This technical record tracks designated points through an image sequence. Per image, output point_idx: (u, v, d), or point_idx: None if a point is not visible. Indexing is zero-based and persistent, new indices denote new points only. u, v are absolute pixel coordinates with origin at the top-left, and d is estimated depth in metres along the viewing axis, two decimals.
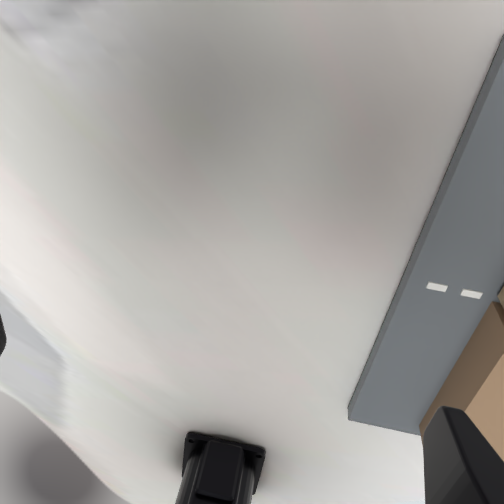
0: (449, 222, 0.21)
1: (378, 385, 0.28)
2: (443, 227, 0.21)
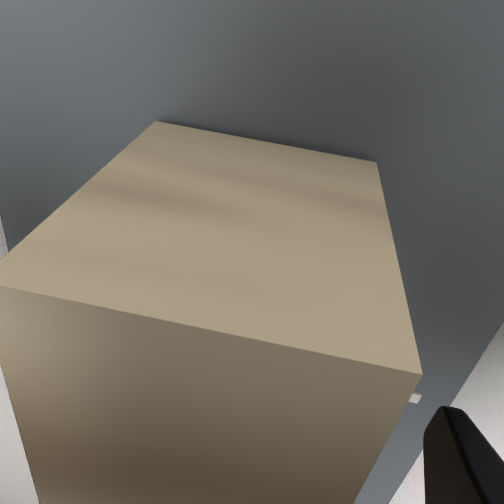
0: (24, 218, 0.12)
1: None
2: (21, 226, 0.12)
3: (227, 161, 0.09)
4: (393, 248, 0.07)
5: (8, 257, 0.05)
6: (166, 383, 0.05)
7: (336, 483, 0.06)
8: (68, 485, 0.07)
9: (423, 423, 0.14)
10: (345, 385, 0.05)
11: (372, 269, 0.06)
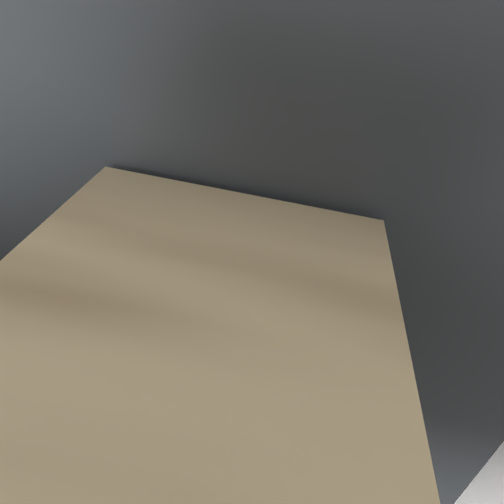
0: None
1: None
2: None
3: (190, 229, 0.07)
4: (412, 375, 0.05)
5: None
6: None
7: None
8: None
9: None
10: None
11: (384, 427, 0.04)
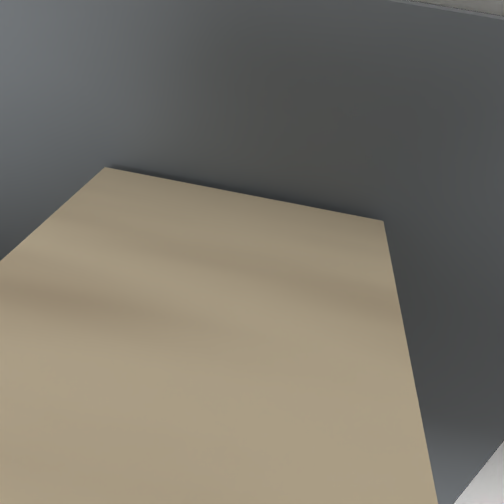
0: None
1: None
2: None
3: (190, 229, 0.07)
4: (411, 377, 0.05)
5: None
6: None
7: None
8: None
9: None
10: None
11: (382, 428, 0.04)
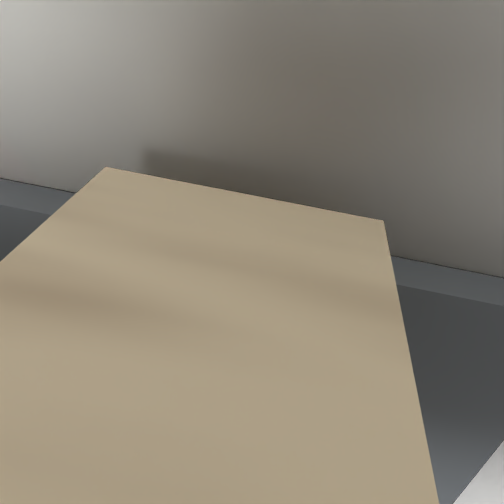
0: None
1: None
2: None
3: (190, 229, 0.07)
4: (411, 377, 0.05)
5: None
6: None
7: None
8: None
9: None
10: None
11: (383, 427, 0.04)
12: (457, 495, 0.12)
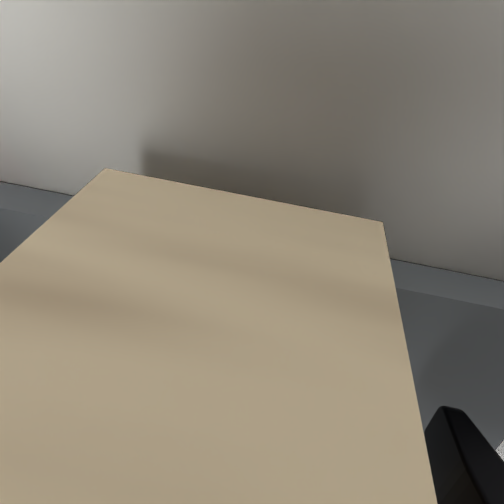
0: None
1: None
2: None
3: (190, 231, 0.07)
4: (410, 377, 0.05)
5: None
6: None
7: None
8: None
9: None
10: None
11: (382, 429, 0.04)
12: None
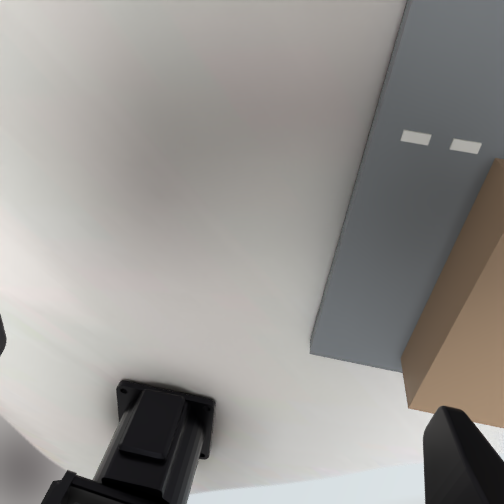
0: (430, 20, 0.14)
1: (344, 301, 0.21)
2: (421, 30, 0.14)
3: None
4: None
5: None
6: None
7: None
8: None
9: None
10: None
11: None
12: None
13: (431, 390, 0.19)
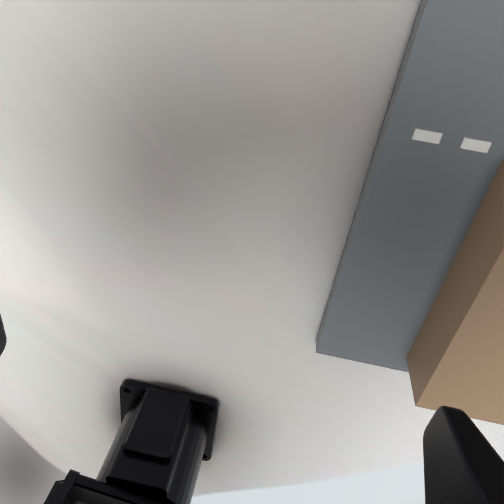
0: (444, 20, 0.14)
1: (352, 300, 0.21)
2: (435, 30, 0.15)
3: None
4: None
5: None
6: None
7: None
8: None
9: None
10: None
11: None
12: None
13: (439, 388, 0.19)
